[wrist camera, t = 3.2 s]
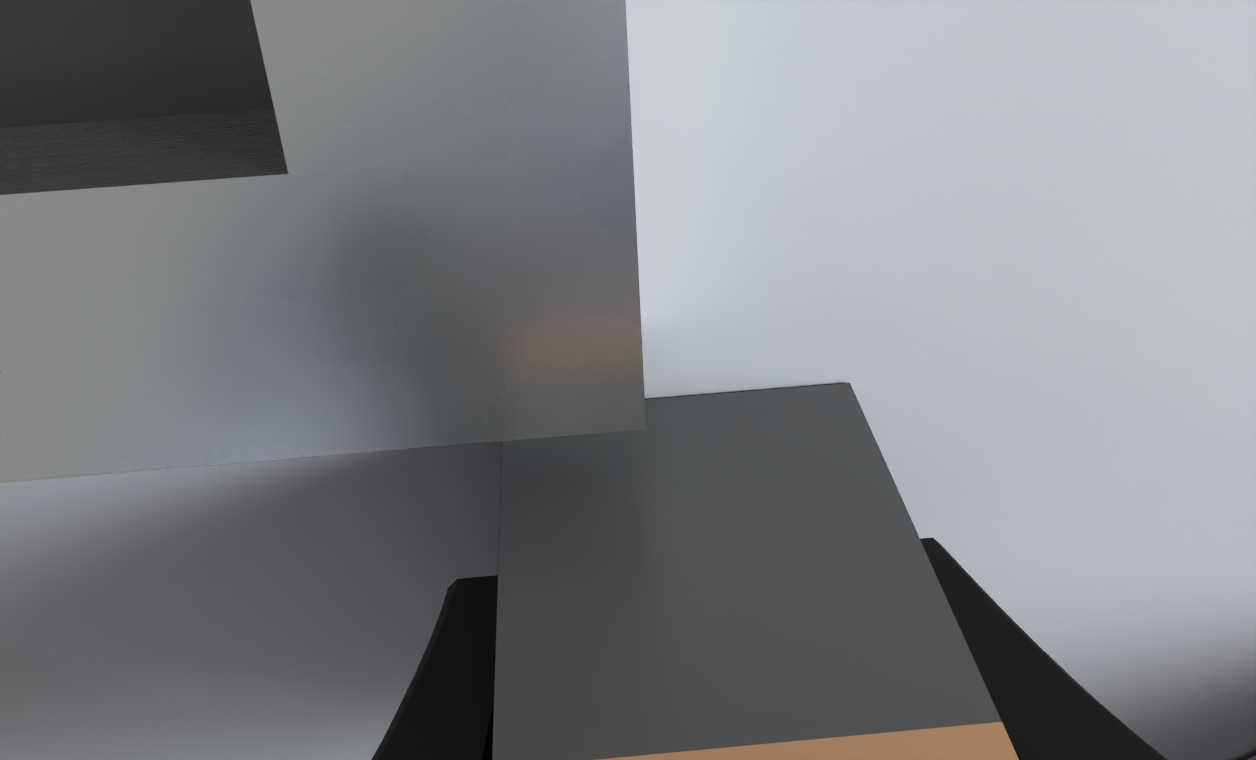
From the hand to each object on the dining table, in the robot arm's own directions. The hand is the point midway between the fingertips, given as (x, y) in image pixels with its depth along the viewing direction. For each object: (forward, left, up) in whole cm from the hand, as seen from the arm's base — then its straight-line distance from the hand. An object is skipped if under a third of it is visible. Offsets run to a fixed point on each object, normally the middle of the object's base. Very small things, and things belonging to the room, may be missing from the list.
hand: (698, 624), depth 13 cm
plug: (0, 0, -2) cm, 2 cm away
